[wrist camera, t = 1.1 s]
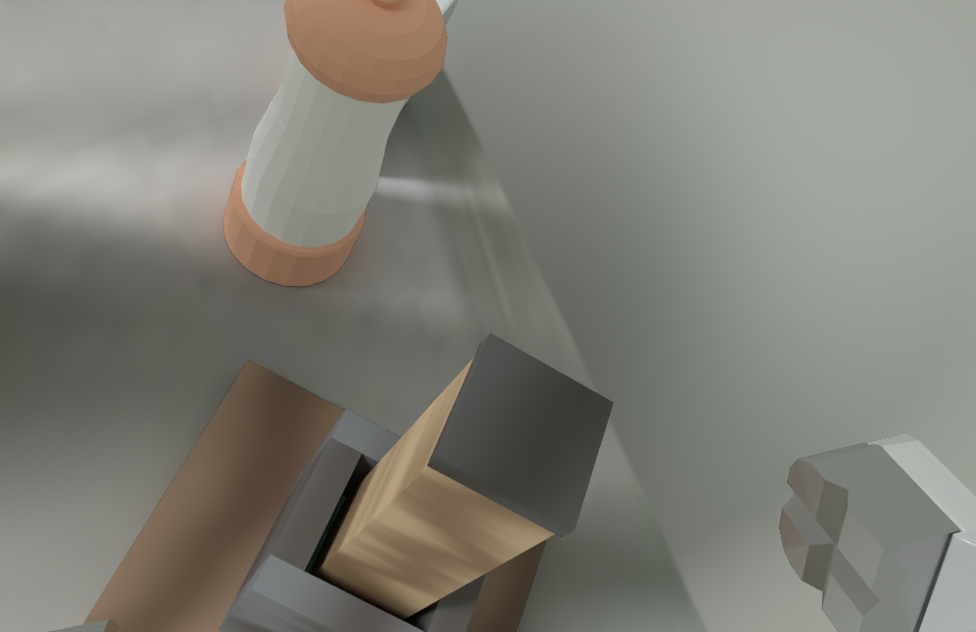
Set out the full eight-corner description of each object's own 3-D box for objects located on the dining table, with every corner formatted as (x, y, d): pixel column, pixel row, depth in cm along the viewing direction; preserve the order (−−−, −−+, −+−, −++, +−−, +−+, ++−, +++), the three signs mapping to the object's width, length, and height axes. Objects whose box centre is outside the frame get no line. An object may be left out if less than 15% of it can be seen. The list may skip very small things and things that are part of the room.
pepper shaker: (325, 307, 50) (444, 80, 34) (201, 252, 48) (266, -11, 33) (366, 212, 54) (489, -30, 38) (253, 158, 52) (333, -115, 37)
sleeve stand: (55, 673, 37) (53, 635, 29) (243, 371, 46) (281, 277, 38) (433, 848, 39) (528, 858, 31) (540, 528, 49) (634, 472, 41)
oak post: (277, 606, 40) (434, 457, 23) (319, 521, 42) (489, 330, 26) (362, 648, 40) (575, 532, 24) (398, 562, 43) (615, 401, 26)
